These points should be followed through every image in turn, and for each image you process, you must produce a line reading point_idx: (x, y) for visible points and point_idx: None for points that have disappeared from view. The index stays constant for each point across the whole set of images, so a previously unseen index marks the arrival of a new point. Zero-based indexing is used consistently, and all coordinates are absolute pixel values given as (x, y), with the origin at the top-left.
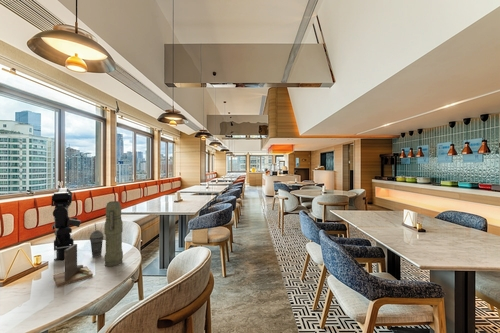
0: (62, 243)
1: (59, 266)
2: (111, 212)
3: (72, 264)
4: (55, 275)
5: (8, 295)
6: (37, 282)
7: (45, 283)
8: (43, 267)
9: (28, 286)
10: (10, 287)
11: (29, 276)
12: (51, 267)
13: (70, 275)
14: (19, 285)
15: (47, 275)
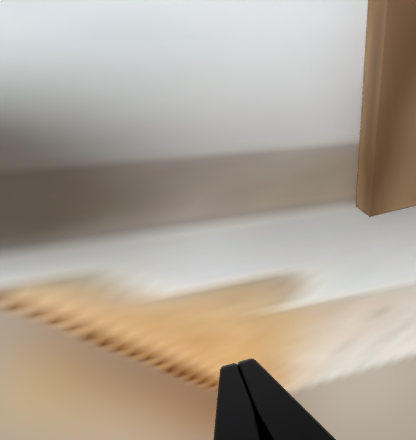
0: (263, 374)
1: (99, 201)
2: None
3: None
4: (394, 202)
5: (410, 346)
6: (351, 276)
7: (408, 234)
8: (46, 309)
9: (373, 303)
10: (312, 369)
11: (202, 340)
12: (86, 256)
13: None
14: (319, 343)
15: (269, 249)
